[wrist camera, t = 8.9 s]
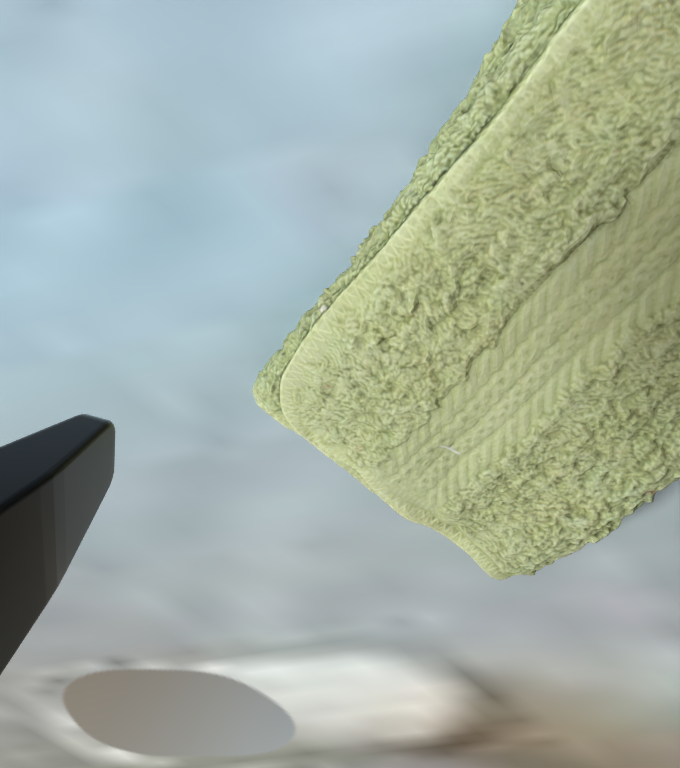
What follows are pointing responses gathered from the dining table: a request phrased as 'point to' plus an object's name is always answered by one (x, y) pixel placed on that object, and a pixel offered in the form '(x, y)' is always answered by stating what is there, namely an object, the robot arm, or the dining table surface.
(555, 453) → the washcloth
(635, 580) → the dining table surface
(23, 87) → the dining table surface
